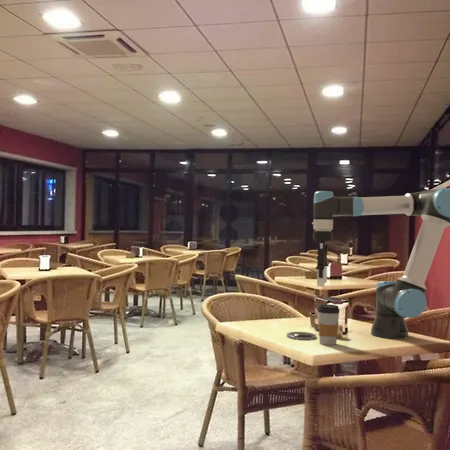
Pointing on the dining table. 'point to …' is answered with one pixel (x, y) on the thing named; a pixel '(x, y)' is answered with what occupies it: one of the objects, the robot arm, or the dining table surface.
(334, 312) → the coffee cup
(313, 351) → the dining table surface
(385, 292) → the robot arm
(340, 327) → the brass coupling
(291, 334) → the flange plate
